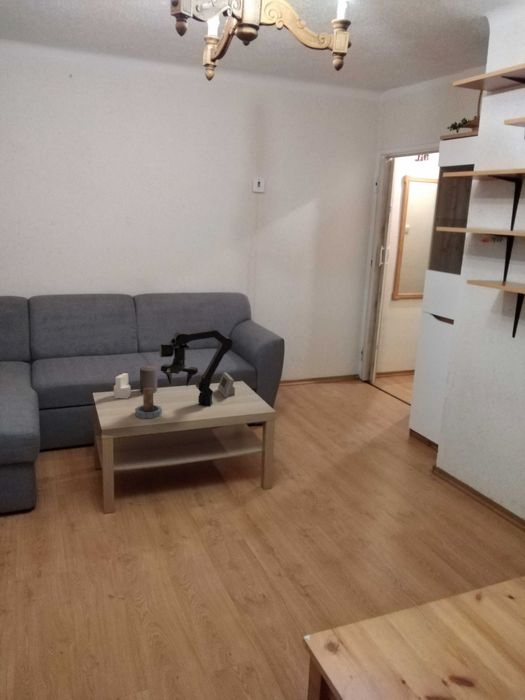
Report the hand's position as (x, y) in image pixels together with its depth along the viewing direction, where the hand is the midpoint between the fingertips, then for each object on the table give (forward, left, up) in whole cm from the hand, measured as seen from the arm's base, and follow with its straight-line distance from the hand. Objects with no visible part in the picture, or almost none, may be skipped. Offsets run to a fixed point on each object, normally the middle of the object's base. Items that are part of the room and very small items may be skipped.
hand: (178, 385), depth 290 cm
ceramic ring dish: (+11, +15, -12) cm, 22 cm away
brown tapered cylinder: (+11, +15, -11) cm, 21 cm away
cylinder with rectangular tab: (+36, -7, -12) cm, 39 cm away
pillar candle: (+26, -20, -12) cm, 35 cm away
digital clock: (-17, -29, -12) cm, 36 cm away
